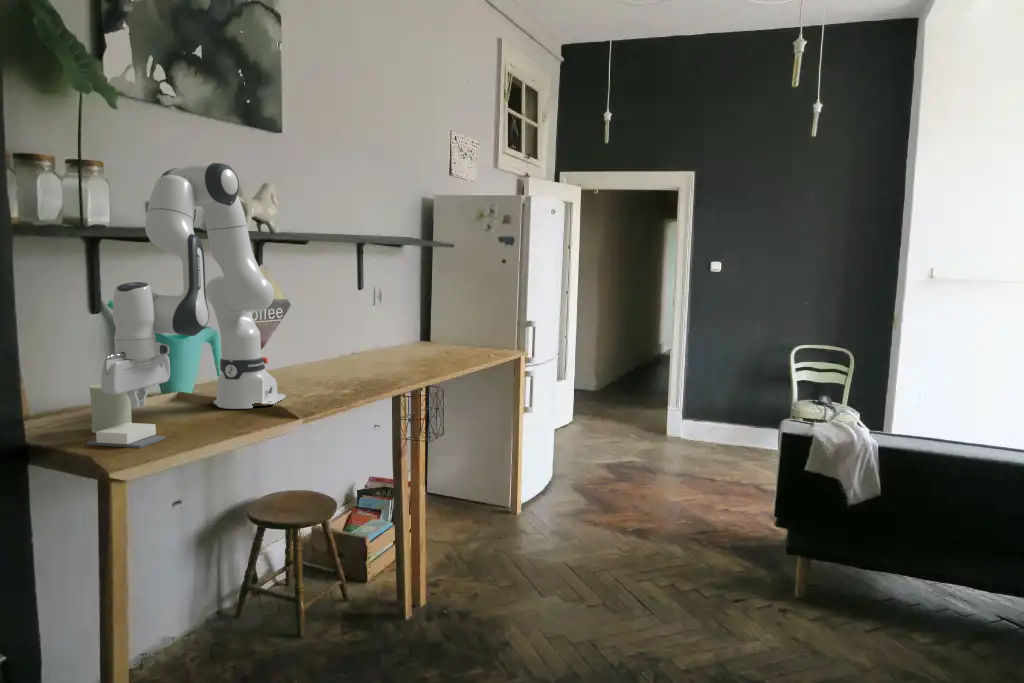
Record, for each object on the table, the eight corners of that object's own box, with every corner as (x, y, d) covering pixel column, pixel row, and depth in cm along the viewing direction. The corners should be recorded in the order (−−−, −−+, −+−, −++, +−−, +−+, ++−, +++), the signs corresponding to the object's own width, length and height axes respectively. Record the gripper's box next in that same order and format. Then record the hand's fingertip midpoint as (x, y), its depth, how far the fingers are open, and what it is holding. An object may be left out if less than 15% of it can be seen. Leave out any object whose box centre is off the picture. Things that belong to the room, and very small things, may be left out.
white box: (126, 422, 178) (96, 431, 168) (155, 424, 176) (126, 433, 167) (126, 433, 178) (96, 443, 168) (155, 435, 177) (127, 445, 167)
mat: (114, 435, 178) (114, 433, 178) (165, 438, 176) (165, 436, 176) (86, 444, 169) (86, 442, 169) (140, 447, 167) (140, 445, 167)
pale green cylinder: (138, 429, 185) (136, 383, 183) (99, 435, 178) (96, 387, 177) (124, 424, 191) (122, 379, 189) (86, 429, 184) (83, 383, 183)
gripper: (116, 355, 164) (119, 415, 165) (173, 345, 184) (176, 399, 185) (91, 355, 165) (95, 414, 166) (151, 345, 185) (154, 398, 186)
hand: (138, 406), depth 176 cm, fingers closed
